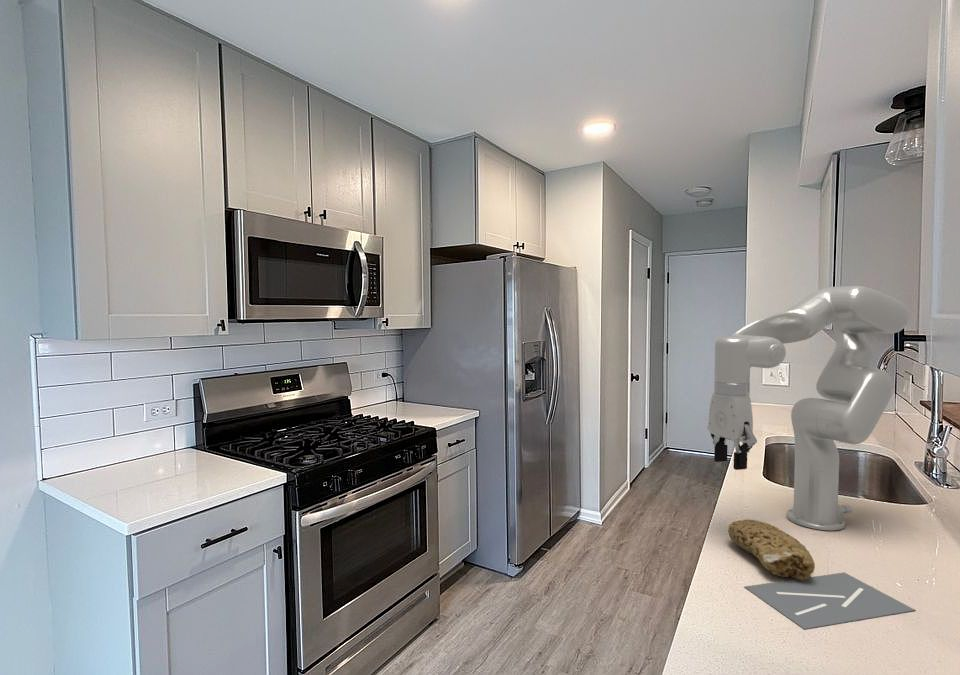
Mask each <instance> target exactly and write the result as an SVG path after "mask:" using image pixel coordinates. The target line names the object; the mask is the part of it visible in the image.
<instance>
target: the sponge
mask: <svg viewBox="0 0 960 675" xmlns="http://www.w3.org/2000/svg"><path fill="white" fill-rule="evenodd" d="M727 533H728V536H729V538H730V539H731V540H732V541H733V543H734V544H735V545H737V546H738V547H739V548H741V549H742V550H744V551H745V552H747V553H748V554H752V555H754V556H755V557H756V558H757V559H758V560H759V562H760V564H761V565H762V566H763V567H764V568H765V570H766V571H769V572H770V573H771V574H772V575H773V576H777V577H782V578H788V579H789V578H793V579H797V580H801V581H803V580H806V579H808V578H809V577H812V576H811V575H812V574H813V573H814V571H815V569H816V566H815V564H816V563H815V561H814V558H813V557H812V555H811V553H810V551H809V550H808V549H807V548H806V546H805V545H804V544H802V543H801V542H800V541H799V540H798V539H797V538H795V537H794V536H792V535H791V534H788V533H786V532H785V531H783V530H782V529H779V528H778V527H777V526H774V525H773V524H769V523H767V522H763V521H760V520H755V519H743V520H740V519H739V520H737V521H736V520H735V521H732V522H731V523H730V524H729V525H728V527H727Z"/></svg>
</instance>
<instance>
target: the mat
mask: <svg viewBox="0 0 960 675" xmlns="http://www.w3.org/2000/svg"><path fill="white" fill-rule="evenodd" d="M744 588H745V589H746V590H747V591H749V592H750V593H752V594H753V595H754V596H756V597H757V598H758V599H760V600H761V601H763V602H764V603H766V605H767V604H768V606H770V607H771V608H773V609H774V610H776V611H777V612H778V613H780V614H781V615H783V616H784V617H786V618H787V619H789V620H790V621H792V622H793V623H795V625H797V626H799V627H800V628H801V629H803V630H810V629H815V628H816V629H817V628H822V627H829V626H833V625H834V626H835V625H840V624H846V623H852V622H857V621H864V620H868V619H874V618H875V619H876V618H880V617H886V616H893V615H900V614H905V613H910V612H915V611H916V609H914V608H912V607H911V606H909V605H907V604H905V603H903V602H901V601H899V600H897V599H896V598H894V597H892V596H890V595H888V594H886V593H884V592H883V591H881V590H878V589H877V588H875V587H873V586H871V585H869V584H867V583H865V582H864V581H861V580H859V579H858V578H856V577H854V576H852V575H850V574H848V573H846V572H844V571H843V572H837V573H832V574H831V573H830V574H825V575H816V576H811V577H809V578H808V579H806V580H803V581H801V580H797V579H795V578H793V579H789V580H788V579H787V580H779V581H775V582H774V581H773V582H768V583H767V582H766V583H761V584H760V583H759V584H753V585H746V586H744Z"/></svg>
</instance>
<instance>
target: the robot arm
mask: <svg viewBox="0 0 960 675" xmlns="http://www.w3.org/2000/svg"><path fill="white" fill-rule="evenodd" d="M909 318H910V316H909V310H908V309H907V307H906V306H905V303H903V302H902V301H901V300H899V299H897V298H895V297H893V296H890V295H887V294H885V293H883V292H881V291H878V290H875V289H873V288H870V287H867V286H864V285H863V286H862V285H849V286H847V285H845V286H828V287H824V288H820V289H818V290H816V291H815V292H812V293H811V294H810V295H808V296H807V297H805V298H803V300H800V301H799V302H797V303H796V304H795V305H792V306H791V307H790V308H788V309H786V310H784V311H782V312H778V313H775V314H772V315H769V316H768V317H765V318H762V319H758V320H756V321H753V322H751V323H749V324H746V325H745V326H743V327H741V328H740V329H738V330H737V331H735V332H734V333H732V334H731V335H730V336H727V337H726V336H725V337H724V336H723V337H719V338H717V339H716V341H715V345H714V377H713V378H714V380H713V381H714V383H713V384H714V387H713V388H714V389H713V390H714V392H713V393H712V395H711V398H710V403H709V411H708V412H709V413H708V423H707V424H708V425H707V430H708V431H709V433H710V437H711V438H712V444H713V445H714V457H713V458H714V462H716V463H721V462H723V463H724V462H727V461H728V444H727V440H729V441H732V442H733V444H734V449H735V451H734V452H733V465H732V466H733V470H735V471H739V470H741V471H742V470H747V469H748V453H750V452H751V451H750V450H751V449H752V448H753V446H755V445H756V444H757V443H758V440H757V438H756V436H755V434H754V433H753V432H754V431H753V430H754V419H753V417H754V416H753V407H752V401H751V397H750V395H751V394H750V388H751V387H750V386H751V384H750V383H751V368H758V369H759V368H760V369H771V368H772V369H773V368H776V367H777V366H779V365H780V364H782V363H783V362H784V360H785V358H786V355H787V352H786V351H787V350H786V347H785V345H784V344H792V343H798V342H802V341H806V340H808V339H811V338H812V337H814V336H815V335H817V334H818V333H819V332H821V331H822V330H824V329H826V328H827V327H828V326H830V325H832V329H833V332H834V336H835V347H834V350H833V352H832V354H831V356H830V358H829V359H828V361H827V363H826V365H825V366H824V368H823V370H822V371H821V373H820V375H819V376H818V378H817V382H816V383H815V386H816V391H817V393H818V394H819V396H821V397H822V398H818V397H805V398H802V399H800V400H798V401H796V402H795V403H794V405H793V406H792V409H791V412H790V413H791V414H790V416H791V425H792V430H793V436H794V472H793V474H794V475H793V476H794V480H793V482H794V483H793V508H789V509H788V510H786V518H787V519H788V520H789V521H791V522H793V523H794V524H796V525H799V526H802V527H806V528H809V529H812V530H813V529H814V530H820V531H830V532H831V531H840V530H842V529H844V528H845V526H846V522H845V520H844V519H843V518H842V517H841V516H842V515H843V514H850V513H852V512H853V508H852V506H851V505H849V504H845V505H844V504H842V505H840V504H839V479H840V478H839V477H840V476H839V475H840V474H839V473H840V454H839V453H840V452H839V450H838V447H837V445H836V443H835V442H839V443H844V444H850V445H858V444H862V443H864V442H865V441H867V439H869V438H870V436H871V435H872V433H873V431H874V429H875V428H876V427H877V424H878V423H879V421H880V419H881V417H882V415H883V414H884V411H885V410H886V408H887V406H888V405H889V402H890V400H891V397H892V393H893V381H892V379H891V377H890V375H889V374H888V373H887V372H885V371H884V370H882V369H879V368H876V367H871V365H872V363H873V360H874V351H873V348H872V346H871V344H870V342H869V341H868V340H867V338H866V336H865V334H883V335H888V334H891V335H892V334H896V333H899V332H901V331H902V330H903V329H905V327H906V326H907V325H908V322H909V320H910V319H909ZM740 442H741V443H742V444H741V443H740Z"/></svg>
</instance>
